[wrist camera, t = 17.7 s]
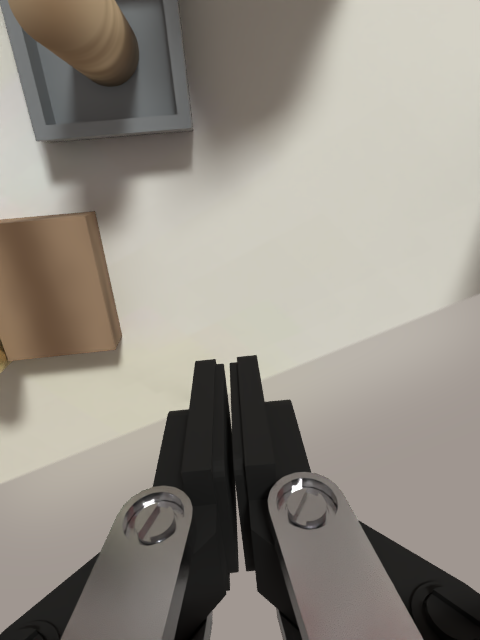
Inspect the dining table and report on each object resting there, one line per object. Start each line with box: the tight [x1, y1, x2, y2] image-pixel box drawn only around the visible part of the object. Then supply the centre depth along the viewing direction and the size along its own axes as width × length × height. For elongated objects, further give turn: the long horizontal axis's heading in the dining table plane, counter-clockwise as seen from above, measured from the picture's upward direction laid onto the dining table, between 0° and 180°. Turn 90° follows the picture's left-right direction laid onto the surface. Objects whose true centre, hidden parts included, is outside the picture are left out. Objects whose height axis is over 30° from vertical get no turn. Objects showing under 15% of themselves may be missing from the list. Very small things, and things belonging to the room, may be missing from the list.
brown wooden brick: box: [0, 211, 122, 361], centre depth 29 cm, size 8×10×3 cm
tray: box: [0, 0, 193, 142], centre depth 23 cm, size 10×10×2 cm
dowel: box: [8, 0, 139, 87], centre depth 20 cm, size 4×4×8 cm
